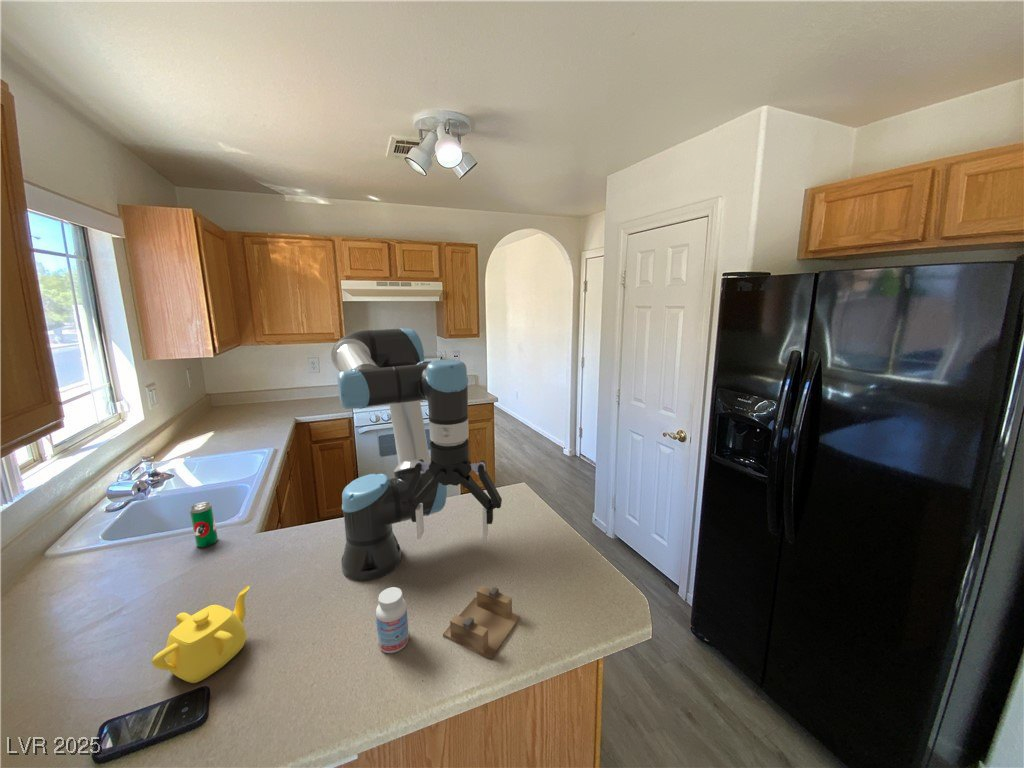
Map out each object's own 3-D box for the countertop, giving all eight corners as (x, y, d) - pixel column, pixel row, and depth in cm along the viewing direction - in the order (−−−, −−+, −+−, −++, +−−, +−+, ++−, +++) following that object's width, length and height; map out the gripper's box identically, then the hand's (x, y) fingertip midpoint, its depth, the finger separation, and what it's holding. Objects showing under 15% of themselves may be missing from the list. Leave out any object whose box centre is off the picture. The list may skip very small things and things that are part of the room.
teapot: (186, 639, 85) (177, 597, 83) (257, 623, 89) (250, 582, 87) (155, 700, 72) (143, 652, 70) (239, 677, 76) (230, 631, 74)
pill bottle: (381, 659, 80) (377, 610, 77) (376, 636, 85) (372, 590, 83) (412, 647, 83) (408, 599, 80) (405, 626, 88) (401, 580, 85)
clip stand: (442, 636, 85) (441, 613, 84) (475, 599, 95) (474, 578, 94) (491, 660, 79) (490, 636, 78) (520, 618, 90) (520, 596, 88)
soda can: (221, 541, 119) (214, 504, 116) (201, 550, 114) (193, 512, 112) (213, 536, 121) (206, 499, 119) (193, 544, 117) (185, 507, 114)
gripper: (379, 445, 76) (387, 545, 81) (512, 448, 75) (512, 548, 80) (392, 431, 83) (399, 523, 88) (513, 433, 82) (513, 526, 87)
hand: (453, 535), depth 84 cm, fingers open, 13 cm apart
